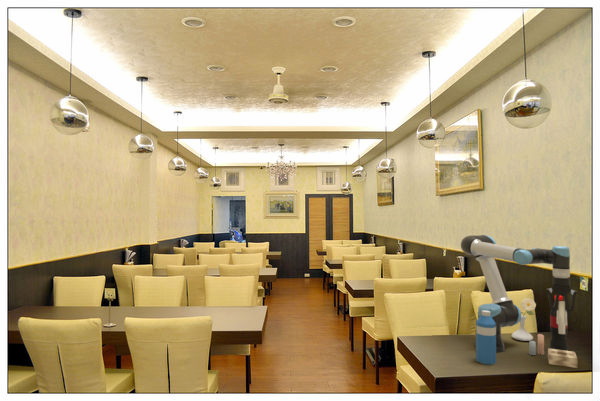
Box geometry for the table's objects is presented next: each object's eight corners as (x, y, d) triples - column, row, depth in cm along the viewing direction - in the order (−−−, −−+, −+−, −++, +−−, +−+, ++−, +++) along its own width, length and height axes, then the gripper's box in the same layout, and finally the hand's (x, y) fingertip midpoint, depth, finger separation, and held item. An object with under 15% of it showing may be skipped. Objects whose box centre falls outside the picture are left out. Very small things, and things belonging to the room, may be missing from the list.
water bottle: (494, 365, 212) (494, 314, 213) (474, 362, 217) (474, 311, 218) (497, 360, 220) (497, 310, 221) (477, 357, 225) (477, 308, 226)
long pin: (558, 333, 218) (558, 301, 219) (558, 332, 221) (557, 300, 221) (565, 334, 217) (565, 302, 217) (565, 333, 219) (564, 301, 220)
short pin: (529, 355, 229) (529, 341, 229) (529, 353, 232) (529, 340, 232) (535, 356, 228) (535, 342, 228) (535, 354, 230) (535, 341, 231)
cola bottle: (570, 353, 232) (570, 297, 233) (553, 352, 234) (552, 296, 235) (564, 348, 240) (563, 294, 241) (547, 347, 242) (547, 293, 243)
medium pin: (537, 354, 231) (537, 335, 231) (537, 352, 233) (537, 333, 234) (544, 355, 229) (544, 336, 230) (543, 353, 232) (543, 334, 232)
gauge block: (548, 363, 216) (548, 354, 216) (547, 356, 226) (547, 348, 227) (577, 368, 210) (577, 358, 210) (574, 360, 221) (574, 351, 221)
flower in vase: (510, 340, 256) (509, 297, 257) (513, 335, 266) (513, 294, 266) (535, 344, 249) (534, 300, 250) (537, 339, 258) (537, 297, 259)
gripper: (543, 276, 220) (543, 323, 219) (580, 279, 213) (581, 327, 212) (542, 275, 227) (543, 320, 226) (579, 277, 219) (579, 324, 219)
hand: (561, 323), depth 219 cm, fingers closed on long pin, 3 cm apart
